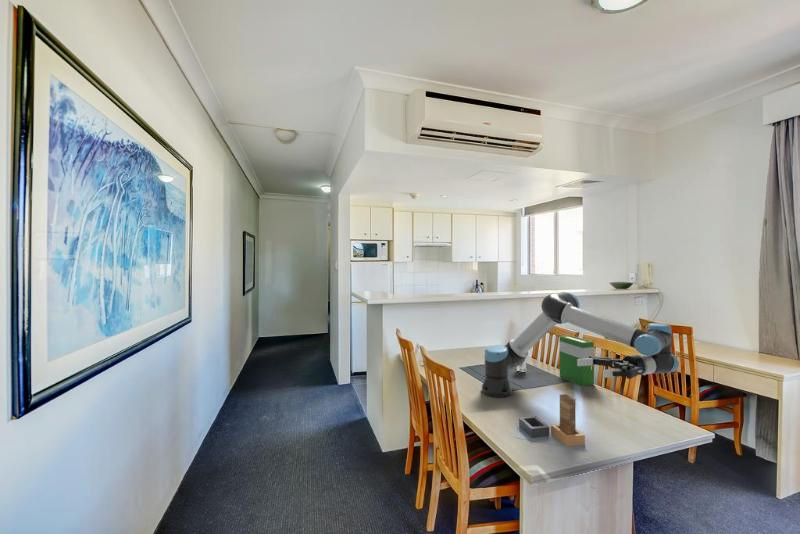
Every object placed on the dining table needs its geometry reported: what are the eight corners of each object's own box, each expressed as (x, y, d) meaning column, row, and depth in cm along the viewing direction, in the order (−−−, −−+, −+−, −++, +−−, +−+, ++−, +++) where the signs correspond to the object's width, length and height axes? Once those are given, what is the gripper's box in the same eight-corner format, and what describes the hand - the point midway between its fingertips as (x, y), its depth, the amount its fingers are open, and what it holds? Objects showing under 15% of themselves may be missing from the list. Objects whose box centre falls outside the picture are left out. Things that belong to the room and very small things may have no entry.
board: (516, 440, 128) (516, 437, 128) (518, 424, 141) (518, 421, 141) (587, 454, 118) (587, 451, 118) (583, 435, 131) (583, 432, 131)
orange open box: (566, 446, 122) (566, 436, 122) (551, 433, 131) (551, 424, 131) (584, 444, 123) (584, 435, 123) (568, 431, 132) (568, 422, 132)
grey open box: (531, 437, 128) (531, 428, 128) (519, 426, 137) (518, 417, 137) (549, 436, 129) (549, 427, 129) (535, 424, 138) (535, 416, 138)
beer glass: (526, 373, 204) (526, 349, 204) (514, 372, 208) (514, 348, 207) (528, 370, 210) (528, 346, 210) (517, 368, 213) (516, 345, 213)
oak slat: (568, 442, 124) (568, 399, 124) (559, 435, 129) (559, 394, 129) (575, 441, 125) (575, 399, 124) (566, 435, 130) (566, 394, 129)
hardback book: (559, 375, 200) (559, 336, 199) (570, 374, 202) (569, 335, 201) (582, 386, 183) (582, 342, 182) (593, 384, 184) (593, 341, 184)
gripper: (668, 385, 119) (616, 389, 116) (613, 364, 144) (568, 367, 140) (668, 364, 119) (616, 368, 116) (613, 347, 144) (568, 349, 140)
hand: (590, 367), depth 128 cm, fingers open, 13 cm apart
